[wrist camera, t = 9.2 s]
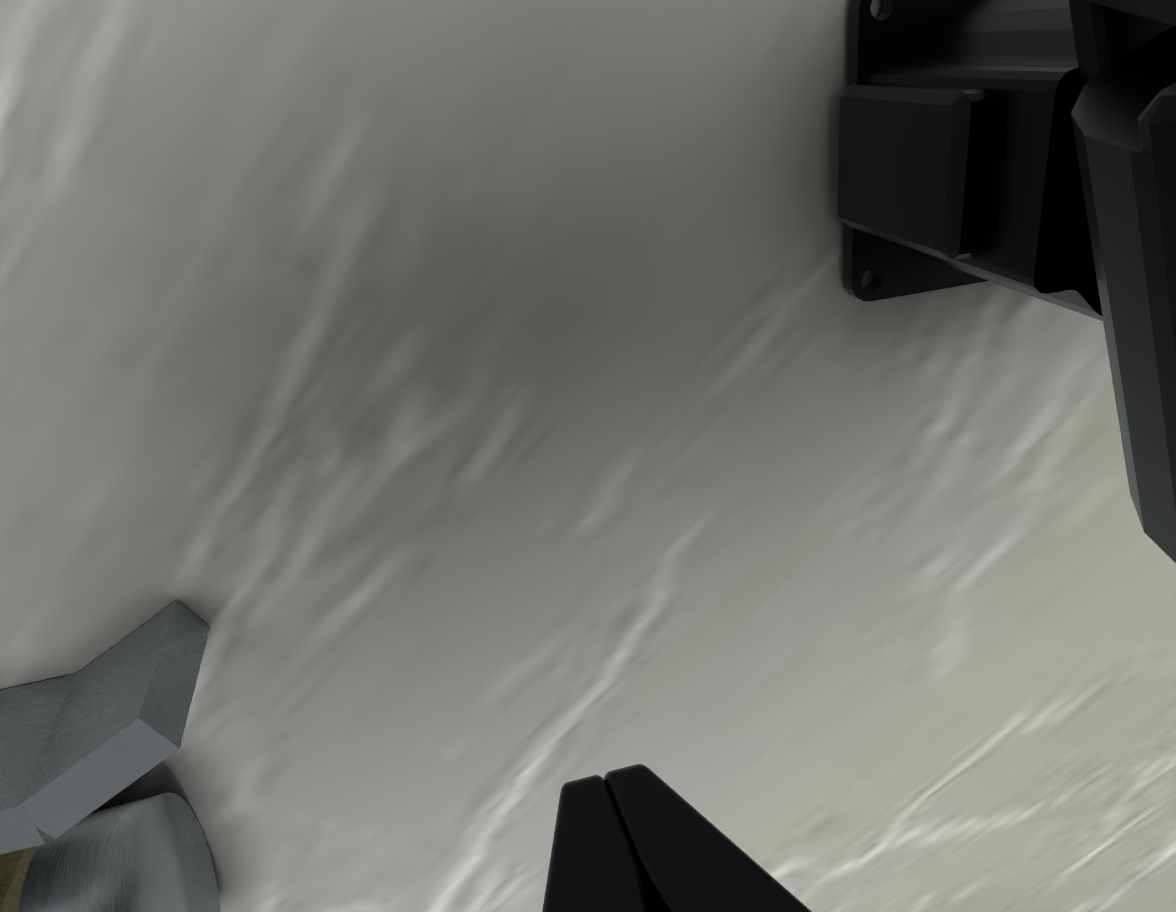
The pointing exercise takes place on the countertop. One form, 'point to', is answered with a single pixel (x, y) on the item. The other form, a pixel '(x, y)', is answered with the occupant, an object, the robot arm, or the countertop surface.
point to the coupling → (95, 728)
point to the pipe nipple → (116, 864)
